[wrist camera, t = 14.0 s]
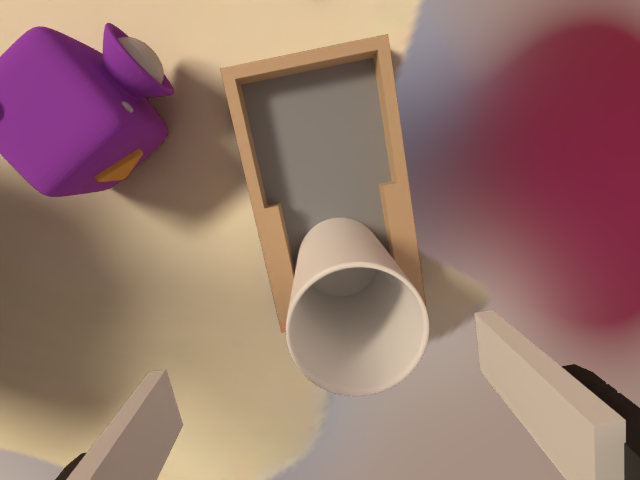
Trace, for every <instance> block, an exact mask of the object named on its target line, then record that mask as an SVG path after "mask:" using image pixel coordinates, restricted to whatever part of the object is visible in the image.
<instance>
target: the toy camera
mask: <svg viewBox="0 0 640 480" xmlns="http://www.w3.org/2000/svg"><path fill="white" fill-rule="evenodd" d="M173 94H174V90H173V87H172V85H171V84H170V82H169V81H168V79H167V78H166V76H165V75H164V72H163V67H162V64H161V62H160V60H159V58H158V56H157V55H156V53H155V52H154V51H153V50H152V49H151V48H150V47H149V46H148V45H146V44H145V43H144V42H142V41H140V40H138V39H135V38H131V37H128V36H127V35H126V34H125V33H124V32H123V31H121V30H120V29H119V28H117V27H116V26H114V25H113V24H110V23H107V24H106V25H105V29H104V38H103V54H102V53H100V52H98V51H97V50H95V49H93V48H91V47H89V46H87V45H85V44H83V43H81V42H79V41H77V40H75V39H73V38H71V37H69V36H67V35H65V34H62V33H60V32H58V31H55V30H53V29H50V28H47V27H34V28H32V29H30V30H29V31H27V32H26V33H25V34H23V35H22V36H21V37H20V38H19V39H18V40H17V41H16V42H15V43H14V44H13V45H12V46H11V47H10V48H9V49H8V50H7V51H6V52H5V53H4V54H3V55H2V56H1V57H0V154H1V155H2V156H3V157H4V158H5V159H6V160H7V161H8V162H9V163H10V164H11V165H12V166H13V167H14V168H15V170H16V171H17V172H18V173H19V174H20V175H21V176H22V177H23V178H24V179H25V180H26V181H27V182H28V183H29V184H30V185H32V186H33V187H34V188H35V189H36V190H37V191H39V192H40V193H42V194H44V195H46V196H51V197H62V196H70V195H77V194H84V193H91V192H98V191H103V190H106V189H109V188H111V187H113V186H114V185H116V184H117V183H118V182H119V181H120V180H124V179H126V177H127V176H128V175H129V173H130V172H131V171H132V170H133V169H134V168H135V167H136V166H137V165H139V164H140V163H141V162H142V161H143V160H144V159H145V158H146V157H148V156H149V155H150V154H151V153H152V152H153V151H154V150H155V149H156V148H158V147H159V146H160V145H161V143H162V142H163V141H164V140H165V139H166V137H167V135H168V129H167V126H166V124H165V123H164V121H163V120H162V118H161V117H160V116H159V115H158V113H157V112H156V111H155V110H154V108H153V107H152V106H151V105H150V104H149V102H148V101H147V100H146V99H145V98H144V97H163V96H170V95H173Z"/></svg>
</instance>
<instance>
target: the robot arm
mask: <svg viewBox="0 0 640 480" xmlns="http://www.w3.org/2000/svg"><path fill="white" fill-rule="evenodd" d="M474 315H475V325H476V334H477V344H478V354H479V364H480V372H481V373H482V374H483V376H484V377H485V378H486V379H487V381H488V382H489V383H490V384H491V386H492V387H493V388H494V389H495V391H496V392H497V393H498V394H499V396H500V397H501V398H502V399H503V401H504V402H505V403H506V404H507V406H508V407H509V408H510V409H511V411H512V412H513V413H514V414H515V416H516V417H517V418H518V420H519V421H520V422H521V423H522V425H523V426H524V427H525V428H526V430H527V431H528V432H529V433H530V435H531V436H532V437H533V438H534V440H535V441H536V442H537V443H538V445H539V446H540V447H541V449H542V450H543V451H544V452H545V454H546V455H547V456H548V457H549V458H550V460H551V461H552V462H553V463H554V465H555V466H556V467H557V469H558V470H559V471H560V472H561V474H562V475H563V476H564V477H565V479H566V480H640V408H639V407H638V406H636V405H635V404H633V403H632V402H631V401H630V400H629V399H627V398H626V397H625V396H623V395H622V394H621V393H617V390H615V389H614V388H613V387H611V386H610V385H609V384H606V382H605V381H603V380H602V379H601V378H599V377H598V376H597V375H596V374H594V373H593V372H591V371H589V370H587V369H584V368H582V367H580V366H577V365H575V364H574V365H567V366H562V367H561V366H560V365H559V364H557V363H556V362H555V361H554V360H553V359H551V358H550V357H549V356H548V355H546V354H545V353H544V352H543V351H542V350H541V349H539V348H538V347H537V346H536V345H534V344H533V343H532V342H531V341H529V340H528V339H527V338H526V337H525V336H523V334H521V333H520V332H519V331H517V330H516V329H515V328H514V327H513V326H512V325H510V324H509V323H508V322H507V321H506V320H504V319H503V318H502V317H501V316H500V315H498V314H497V313H496V312H495V311H494V310H487V311H482V312H477V313H474ZM182 426H183V423H182V419H181V416H180V413H179V410H178V406H177V403H176V400H175V397H174V394H173V390H172V387H171V384H170V381H169V377H168V374H167V371H166V369H164V370H158V371H153V372H148V373H147V375H146V376H145V377H144V379H143V380H142V381H141V382H140V384H139V385H138V386H137V388H136V389H135V390H134V392H133V393H132V394H131V396H130V397H129V398H128V399H127V401H126V402H125V403H124V405H123V406H122V407H121V409H120V410H119V411H118V413H117V414H116V415H115V417H114V418H113V419H112V420H111V422H110V423H109V424H108V426H107V427H106V428H105V430H104V431H103V432H102V434H101V435H100V436H99V437H98V439H97V440H96V441H95V443H94V444H93V445H92V447H91V448H90V449H89V451H88V452H87V453H82V454H80V455H79V456H78V457H77V458H75V459H74V460H73V461H72V462H71V463H70V464H68V465H67V466H66V467H65V468H64V469H63V471H62V472H61V473H60V475H59V476H58V477H57V478H56V479H55V480H157V478H158V476H159V474H160V472H161V470H162V468H163V466H164V464H165V461H166V459H167V457H168V455H169V453H170V451H171V449H172V447H173V445H174V443H175V441H176V439H177V437H178V435H179V432H180V430H181V428H182Z"/></svg>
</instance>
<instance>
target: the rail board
mask: <svg viewBox="0 0 640 480" xmlns="http://www.w3.org/2000/svg"><path fill="white" fill-rule="evenodd" d="M220 70H221V75H222V80H223V84H224V88H225V92H226V97H227V101H228V105H229V110H230V114H231V118H232V122H233V127H234V131H235V135H236V140H237V144H238V148H239V153H240V157H241V161H242V165H243V170H244V174H245V178H246V183H247V187H248V191H249V195H250V200H251V204H252V208H253V213H254V217H255V221H256V226H257V230H258V234H259V238H260V243H261V247H262V251H263V256H264V260H265V264H266V268H267V273H268V277H269V281H270V286H271V290H272V294H273V299H274V303H275V307H276V311H277V316H278V320H279V324H280V328H281V332H282V333H283V332H286V320H287V314H288V308H289V303H290V297H291V292H292V286H293V281H294V275H295V270H296V264H297V259H298V253H299V249H300V245H301V243H302V241H303V239H304V237H305V236H306V234H307V233H308V232H309V231H310V230H311V229H312V228H313V227H314V226H316V225H317V224H319V223H320V222H322V221H325V220H328V219H331V218H349V219H353V220H356V221H358V222H360V223H362V224H364V225H365V226H366V227H368V228H369V229H370V230H371V231H372V232H373V234H374V235H375V236H376V238H377V239H378V240H379V241H380V243H381V244H382V245H383V247H384V248H385V249H386V250H387V252H388V253H389V254H390V256H391V257H392V258H393V260H394V261H395V262H396V263H397V265H398V266H399V267H400V269H401V270H402V271H403V272H404V274H405V275H406V276H407V278H408V279H409V280H410V282H411V283H412V284H413V286H414V287H415V288H416V290H417V291H418V293H419V294H420V296H421V298H422V300H423V302H424V305H425V306H426V303H425V296H424V288H423V281H422V274H421V267H420V260H419V253H418V245H417V238H416V231H415V225H414V217H413V210H412V202H411V196H410V188H409V181H408V174H407V167H406V160H405V152H404V146H403V138H402V131H401V124H400V116H399V109H398V103H397V95H396V88H395V81H394V73H393V66H392V59H391V52H390V45H389V38H388V34H386V35H381V36H376V37H371V38H366V39H361V40H357V41H352V42H347V43H342V44H337V45H332V46H328V47H323V48H318V49H313V50H308V51H303V52H298V53H294V54H289V55H284V56H279V57H274V58H269V59H265V60H260V61H255V62H250V63H245V64H240V65H235V66H231V67H226V68H221V69H220Z"/></svg>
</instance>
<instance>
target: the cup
mask: <svg viewBox="0 0 640 480" xmlns="http://www.w3.org/2000/svg"><path fill="white" fill-rule="evenodd" d="M428 338H429V318H428V313H427V310H426V307H425V305H424V302H423V300H422V298H421V296H420V294H419V293H418V291H417V290H416V288H415V287H414V286H413V284H412V283H411V282H410V280H409V279H408V278H407V276H406V275H405V274H404V272H403V271H402V270H401V269H400V267H399V266H398V265H397V263H396V262H395V261H394V260H393V258H392V257H391V256H390V254H389V253H388V252H387V250H386V249H385V248H384V247H383V245H382V244H381V243H380V241H379V240H378V239H377V238H376V236H375V235H374V234H373V232H372V231H371V230H370V229H369V228H368V227H366V226H365V225H364V224H362V223H360V222H358V221H356V220H353V219H349V218H331V219H328V220H325V221H322V222H320V223H319V224H317V225H316V226H314V227H313V228H312V229H311V230H310V231H309V232H308V233H307V234H306V236H305V237H304V239H303V241H302V243H301V245H300V249H299V253H298V259H297V264H296V270H295V275H294V281H293V286H292V292H291V297H290V303H289V308H288V314H287V320H286V339H287V345H288V349H289V352H290V355H291V357H292V359H293V361H294V363H295V364H296V366H297V368H298V369H299V370H300V371H301V373H302V374H303V375H304V376H305V377H306V378H307V379H309V380H310V381H311V382H312V383H314V384H315V385H317V386H319V387H320V388H322V389H324V390H327V391H329V392H332V393H335V394H339V395H345V396H366V395H372V394H376V393H379V392H382V391H385V390H388V389H389V388H391V387H393V386H395V385H397V384H398V383H400V382H401V381H402V380H404V379H405V378H406V377H407V376H408V375H409V374H410V373H411V372H412V371H413V370H414V369H415V367H416V366H417V365H418V363H419V362H420V360H421V359H422V356H423V354H424V352H425V350H426V347H427V343H428Z"/></svg>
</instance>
